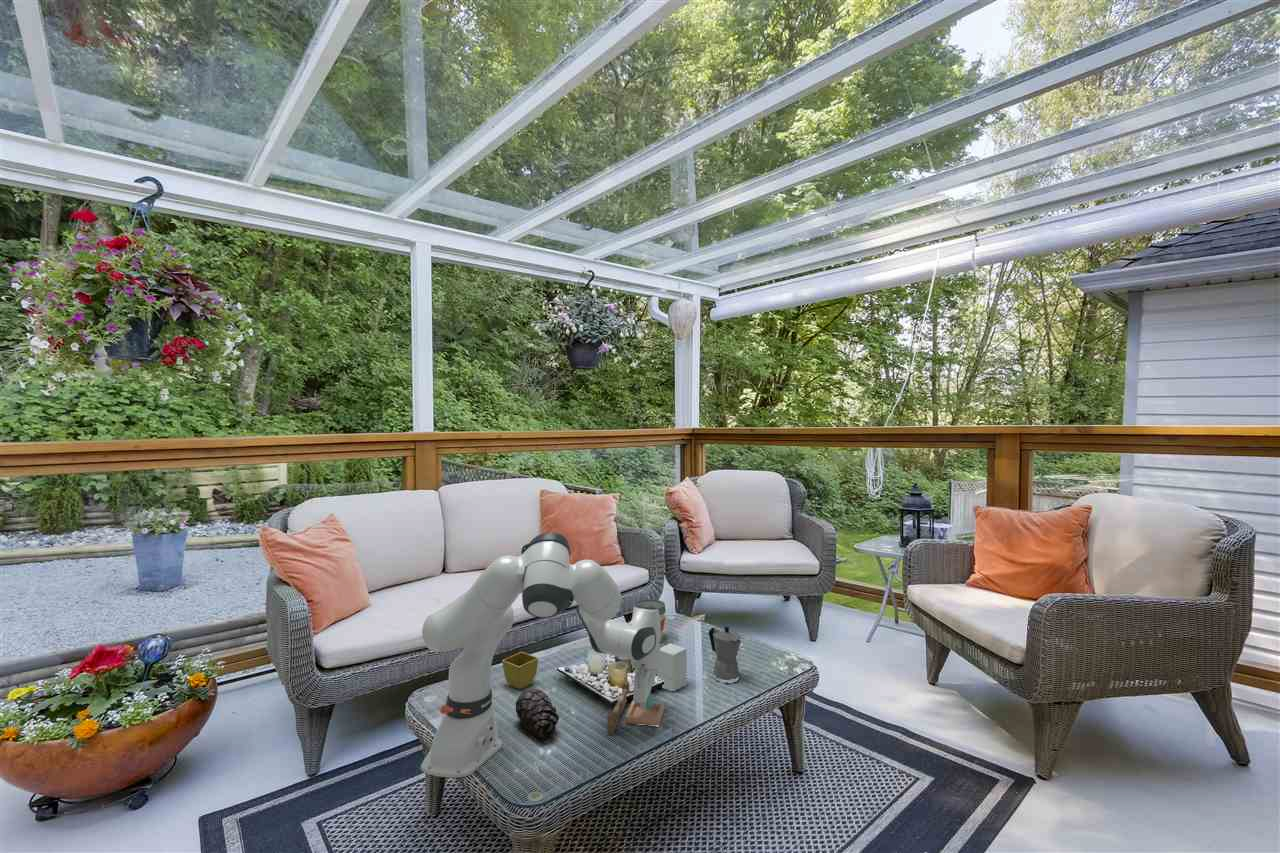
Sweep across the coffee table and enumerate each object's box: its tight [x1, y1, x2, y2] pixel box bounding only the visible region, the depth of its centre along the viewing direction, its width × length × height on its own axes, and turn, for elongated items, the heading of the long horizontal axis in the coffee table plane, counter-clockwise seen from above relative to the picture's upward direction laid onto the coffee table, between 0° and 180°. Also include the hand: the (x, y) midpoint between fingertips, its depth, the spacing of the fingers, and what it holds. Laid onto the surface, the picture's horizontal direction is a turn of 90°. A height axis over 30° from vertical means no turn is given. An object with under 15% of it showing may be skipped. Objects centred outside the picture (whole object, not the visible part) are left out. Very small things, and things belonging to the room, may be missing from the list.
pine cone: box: [515, 688, 560, 745], centre depth 172 cm, size 10×18×10 cm, turn 40°
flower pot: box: [501, 651, 539, 690], centre depth 199 cm, size 9×9×9 cm
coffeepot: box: [708, 626, 742, 680], centre depth 206 cm, size 15×9×18 cm, turn 36°
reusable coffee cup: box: [634, 598, 667, 643], centre depth 238 cm, size 13×13×15 cm
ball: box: [638, 693, 655, 710], centre depth 178 cm, size 5×5×5 cm
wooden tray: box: [625, 700, 665, 725], centre depth 179 cm, size 10×10×2 cm
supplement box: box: [656, 643, 687, 692], centre depth 199 cm, size 7×7×13 cm
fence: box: [606, 681, 630, 736], centre depth 179 cm, size 22×2×6 cm, turn 169°
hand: (645, 703), depth 178 cm, fingers closed on ball, 5 cm apart
